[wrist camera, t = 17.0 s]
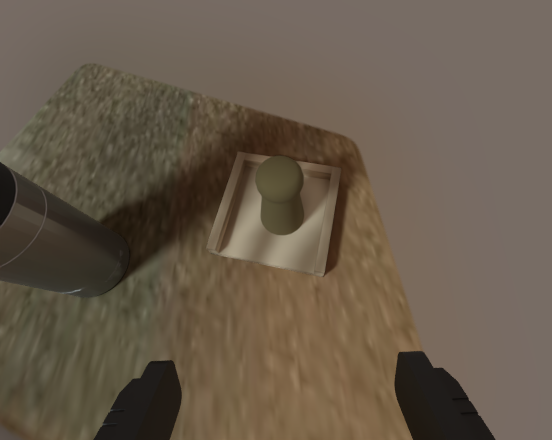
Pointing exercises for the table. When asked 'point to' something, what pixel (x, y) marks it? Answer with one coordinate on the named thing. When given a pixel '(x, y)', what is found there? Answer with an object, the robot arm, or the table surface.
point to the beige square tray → (260, 242)
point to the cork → (280, 194)
